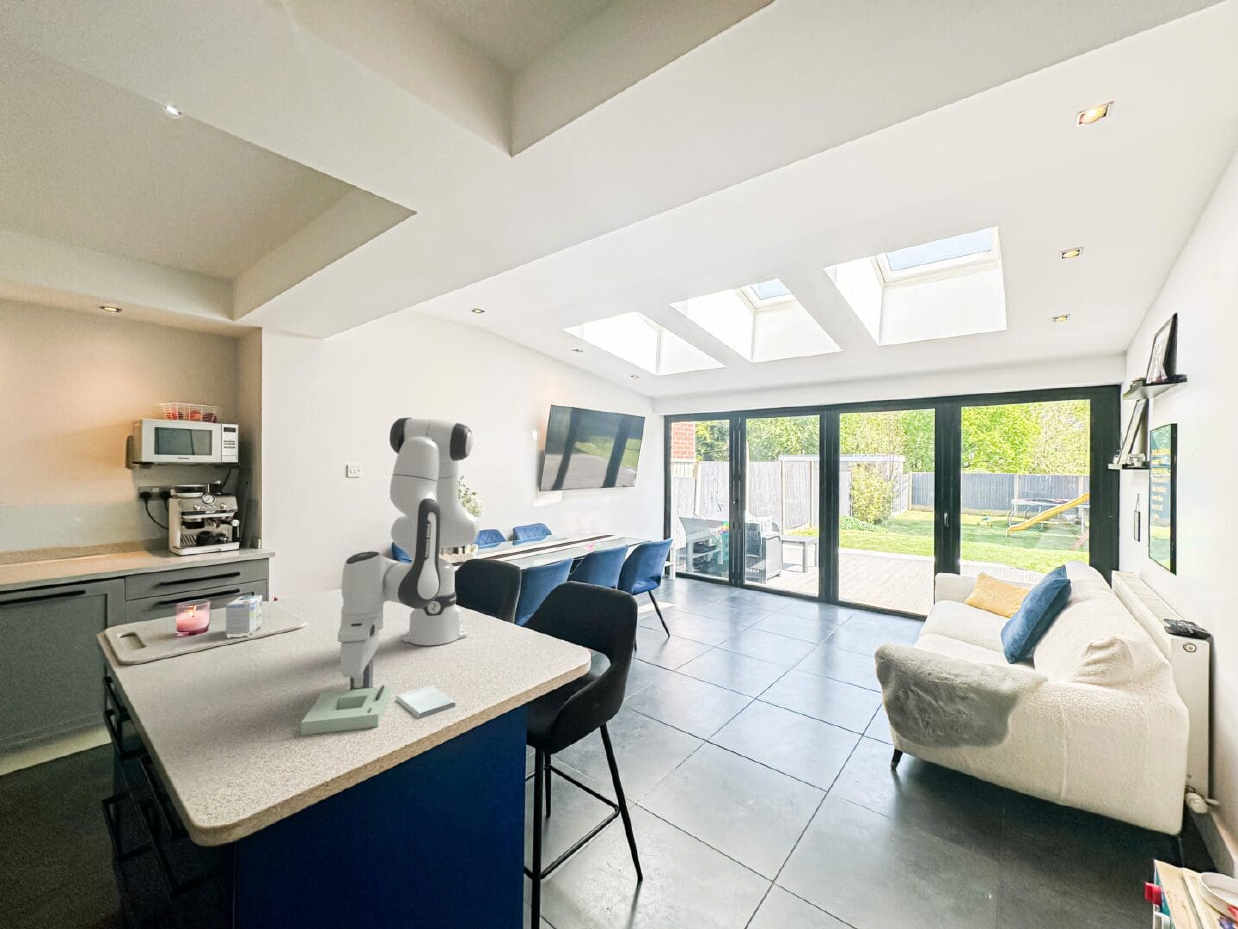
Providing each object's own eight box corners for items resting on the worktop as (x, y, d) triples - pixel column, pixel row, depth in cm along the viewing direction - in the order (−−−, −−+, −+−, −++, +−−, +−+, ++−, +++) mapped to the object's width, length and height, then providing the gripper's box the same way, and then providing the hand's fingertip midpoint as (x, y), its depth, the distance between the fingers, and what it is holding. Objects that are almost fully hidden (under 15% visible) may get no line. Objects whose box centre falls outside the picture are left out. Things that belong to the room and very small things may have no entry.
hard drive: (455, 701, 113) (431, 684, 122) (419, 713, 107) (396, 694, 116) (455, 709, 113) (431, 691, 122) (418, 721, 107) (396, 702, 116)
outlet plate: (322, 703, 114) (323, 689, 114) (390, 697, 117) (390, 683, 117) (300, 735, 100) (301, 718, 100) (378, 726, 104) (378, 710, 104)
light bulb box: (238, 629, 168) (239, 596, 168) (262, 627, 170) (263, 594, 170) (224, 639, 158) (225, 604, 158) (250, 637, 160) (250, 602, 160)
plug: (354, 690, 121) (354, 659, 121) (372, 688, 122) (373, 658, 122) (349, 697, 117) (350, 665, 117) (368, 695, 118) (369, 664, 118)
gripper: (358, 611, 129) (357, 666, 129) (335, 637, 109) (334, 702, 109) (385, 610, 130) (384, 664, 130) (367, 634, 111) (366, 698, 110)
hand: (361, 681), depth 119 cm, fingers closed on plug, 4 cm apart
